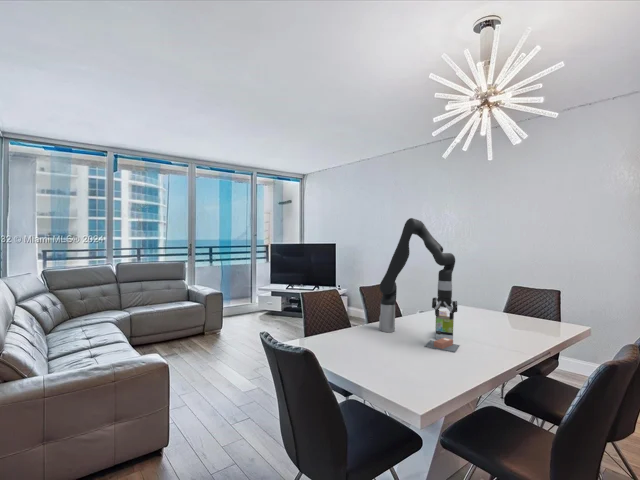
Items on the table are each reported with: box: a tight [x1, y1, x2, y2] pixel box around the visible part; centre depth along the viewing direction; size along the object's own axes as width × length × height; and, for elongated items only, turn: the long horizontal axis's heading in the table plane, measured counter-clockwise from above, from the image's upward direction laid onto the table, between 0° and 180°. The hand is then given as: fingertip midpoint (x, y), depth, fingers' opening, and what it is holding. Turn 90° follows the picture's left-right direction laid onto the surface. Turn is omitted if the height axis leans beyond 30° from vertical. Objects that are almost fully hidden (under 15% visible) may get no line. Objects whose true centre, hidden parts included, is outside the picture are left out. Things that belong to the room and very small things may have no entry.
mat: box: [423, 339, 460, 353], centre depth 188 cm, size 16×13×1 cm
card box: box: [433, 338, 454, 349], centre depth 187 cm, size 3×5×11 cm
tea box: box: [435, 310, 455, 341], centre depth 206 cm, size 15×10×15 cm
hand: (444, 317), depth 188 cm, fingers open, 8 cm apart
